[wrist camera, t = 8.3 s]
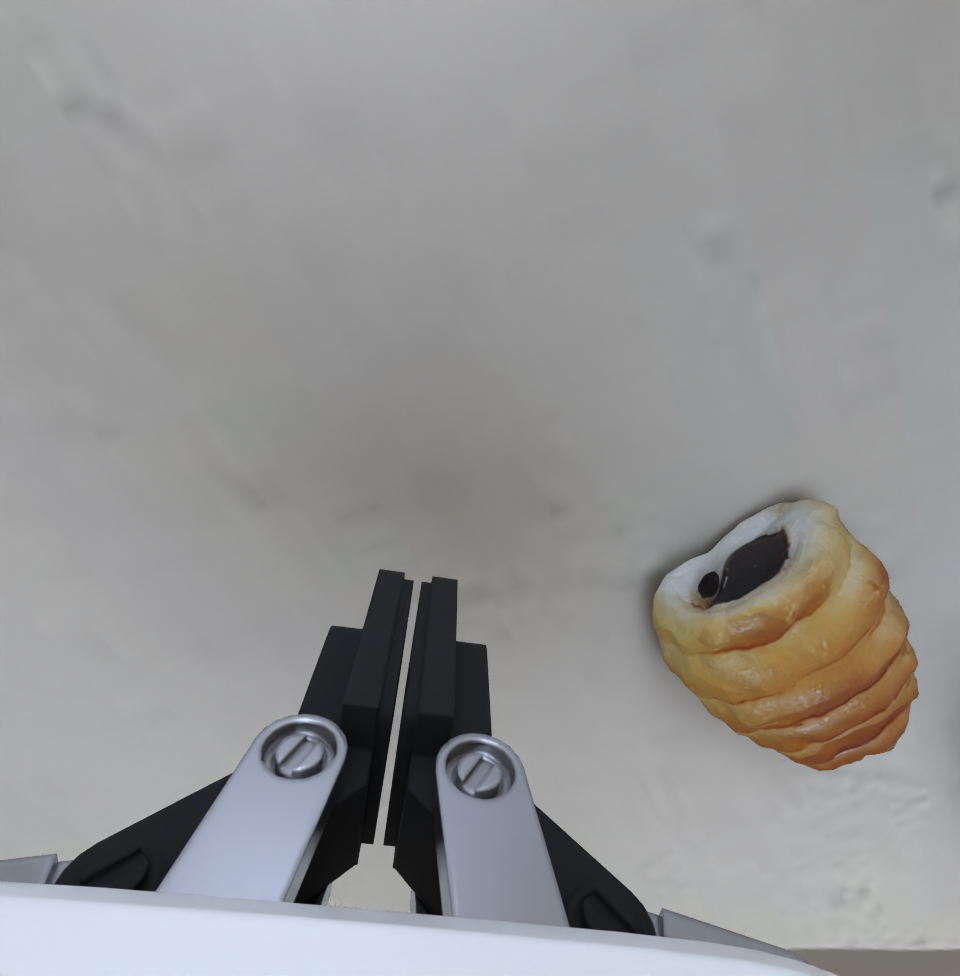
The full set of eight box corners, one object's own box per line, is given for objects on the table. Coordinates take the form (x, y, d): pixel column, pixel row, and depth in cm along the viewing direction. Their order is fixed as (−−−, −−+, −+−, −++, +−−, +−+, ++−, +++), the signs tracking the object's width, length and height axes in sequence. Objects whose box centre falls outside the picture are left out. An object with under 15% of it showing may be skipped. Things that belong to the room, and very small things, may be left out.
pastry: (926, 671, 20) (1025, 756, 16) (756, 765, 21) (812, 863, 18) (797, 470, 17) (880, 518, 14) (614, 592, 19) (646, 664, 15)
